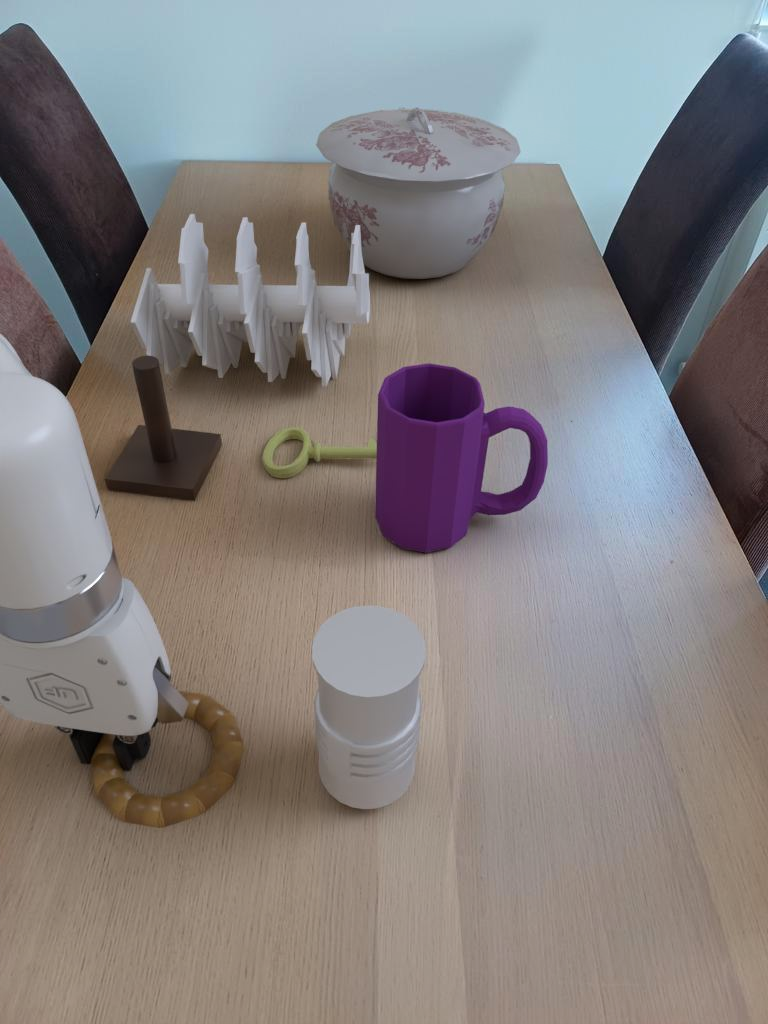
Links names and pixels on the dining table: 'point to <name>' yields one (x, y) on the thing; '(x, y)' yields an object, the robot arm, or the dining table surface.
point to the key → (310, 452)
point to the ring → (184, 802)
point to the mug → (443, 456)
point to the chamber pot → (417, 187)
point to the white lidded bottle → (367, 704)
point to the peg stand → (161, 446)
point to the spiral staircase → (249, 310)
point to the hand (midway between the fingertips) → (116, 751)
